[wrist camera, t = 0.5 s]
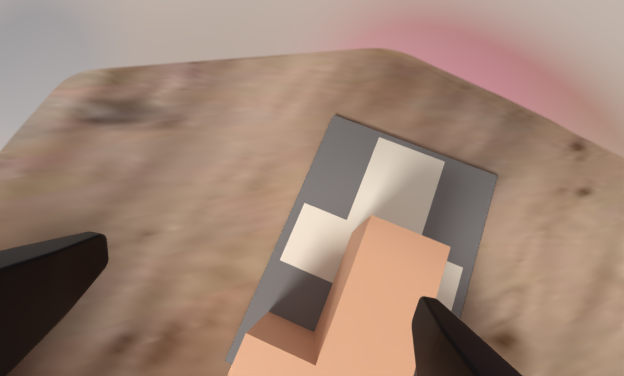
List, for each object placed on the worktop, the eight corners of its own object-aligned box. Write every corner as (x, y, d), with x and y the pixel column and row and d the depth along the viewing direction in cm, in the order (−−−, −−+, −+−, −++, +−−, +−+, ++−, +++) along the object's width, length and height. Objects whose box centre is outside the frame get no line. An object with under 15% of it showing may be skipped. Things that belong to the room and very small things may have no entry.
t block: (405, 434, 21) (462, 533, 13) (248, 359, 22) (213, 408, 14) (451, 273, 23) (520, 275, 16) (309, 214, 25) (308, 189, 17)
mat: (421, 452, 21) (423, 456, 20) (226, 359, 22) (224, 360, 22) (494, 177, 26) (497, 175, 25) (333, 116, 27) (333, 114, 27)
